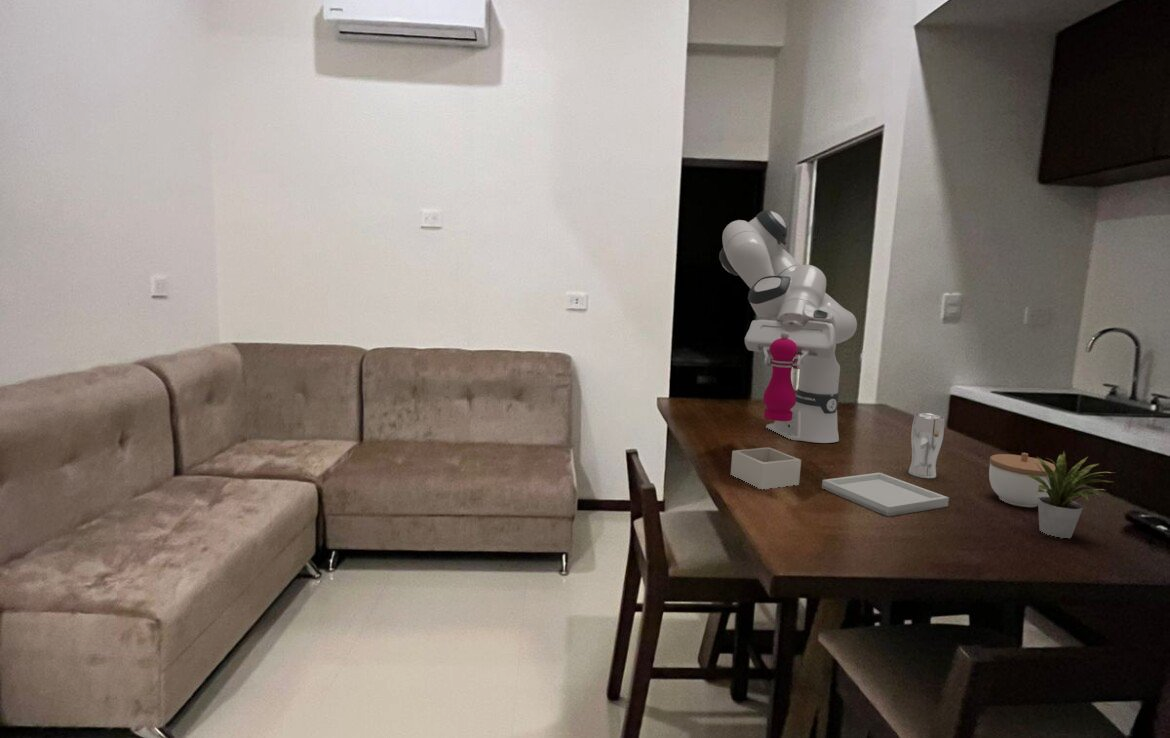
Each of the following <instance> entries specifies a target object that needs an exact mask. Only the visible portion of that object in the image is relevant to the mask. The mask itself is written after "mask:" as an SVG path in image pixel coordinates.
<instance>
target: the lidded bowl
mask: <svg viewBox="0 0 1170 738" xmlns="http://www.w3.org/2000/svg"><path fill="white" fill-rule="evenodd" d="M1042 460H1043V459H1042ZM1043 461H1044V462H1045V464H1046V465H1048V466H1049V467H1050V468H1051V469H1052V471H1053V473H1054V472H1055V465H1054V464H1053V462H1052V463H1051V462H1050V461H1046V460H1045V459H1044V460H1043ZM1034 462H1035V463H1036V464H1037V465H1038V466H1039V467H1040V468H1041V469H1040V468H1039V467H1038V466H1037V465H1036V464H1035V463H1034ZM1040 463H1041V462H1040V461H1039V459H1038V458H1037V457H1030V456H1029V453H1027V452H1021V454H1020V455H1018V454H1010V453H998V454H997V453H996V454H992V455H991V456H990V457H989V469H988V476H989V477H988V478H989V483H990V486H991V488H992V490H993V491H994V493H995V494H996V495H997V496H998V499H999V500H1000V501H1001V500H1002V502H1003V501H1004V503H1006V504H1009V505H1012V506H1015V507H1016V506H1017V507H1024V508H1037V507H1038V498H1039V497H1043V496H1048V497H1049V495H1048V493H1047V492H1038V488H1039V485H1042V484H1041V483H1040V482H1038V481H1037V480H1035V479H1033V478H1031V477H1028V476H1027V475H1035V476H1037V477H1039V478H1041V479H1042V480H1043V481H1044V482H1045V483H1046V484H1047V485H1048V487H1049V488H1050V489H1051V487H1050V485H1051V484H1050V485H1049V482H1050V481H1049V482H1048V480H1049V478H1048V475H1047V473H1046V471H1045V469H1044V468H1043V466H1042V464H1040ZM1041 470H1042V471H1043V472H1044V473H1045V475H1046V476H1047V478H1048V480H1047V478H1046V476H1045V475H1044V474H1043V472H1042V471H1041ZM1042 486H1043V485H1042ZM1039 490H1040V489H1039ZM1041 490H1044V491H1047V490H1046V489H1041ZM1037 492H1038V493H1037Z"/></svg>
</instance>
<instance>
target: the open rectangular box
mask: <svg viewBox="0 0 1170 738" xmlns="http://www.w3.org/2000/svg"><path fill="white" fill-rule="evenodd" d="M801 467H802V459H800V458H798V457H795V456H793V455H789V454H787V453H785V452H783V451H780V450H778V449H775V448H772V447H770V446H768V447H759V448H757V447H756V448H749V449H748V448H747V449H738V450H732V453H731V465H730V476H731V475H732V476H731V477H733V476H734V478H735V477H736V478H735V479H737V478H739V479H741V480H743V481H745V482H744V483H746V482H747V483H746V484H748V483H749V484H748V485H750V484H751V485H750V486H752V485H753V486H752V487H754V486H755V487H754V488H756V487H757V488H756V489H758V490H760V489H762V490H761V491H763V489H765V490H770V488H772V489H778V487H780V488H785V487H786V486H788V487H794V486H793V485H795V486H799V485H800V479H801V477H800V475H801V469H802V468H801ZM739 479H738V480H739ZM741 480H740V481H741ZM743 481H742V482H743ZM786 488H787V487H786Z"/></svg>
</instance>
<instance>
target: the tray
mask: <svg viewBox="0 0 1170 738" xmlns="http://www.w3.org/2000/svg"><path fill="white" fill-rule="evenodd" d="M821 481H822V483H821V489H822V490H824V489H825V490H824V491H827V492H829V493H832V494H834V495H837V496H838V497H841V498H843V499H846V500H848V501H850V502H853V503H855V504H857V505H859V506H862V507H864V508H867V509H869V510H871V511H873V512H876V513H878V514H880V515H883V516H885V517H888V518H889V517H894V516H895V517H896V516H899V515H906V514H913V513H918V512H922V511H923V512H925V511H930V510H935V509H942V508H947V507H948V506H949V500H950V497H949V496H945V495H942V494H941V493H937V492H935V491H931V490H929V489H926V488H923V487H921V486H917V485H915V484H913V483H909V482H906V481H904V480H902V479H898V478H896V477H893V476H890V475H888V474H885V473H882V472H874V473H865V474H860V475H859V474H857V475H849V476H841V477H836V478H835V477H834V478H828V479H826V478H825V479H822V480H821Z"/></svg>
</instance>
